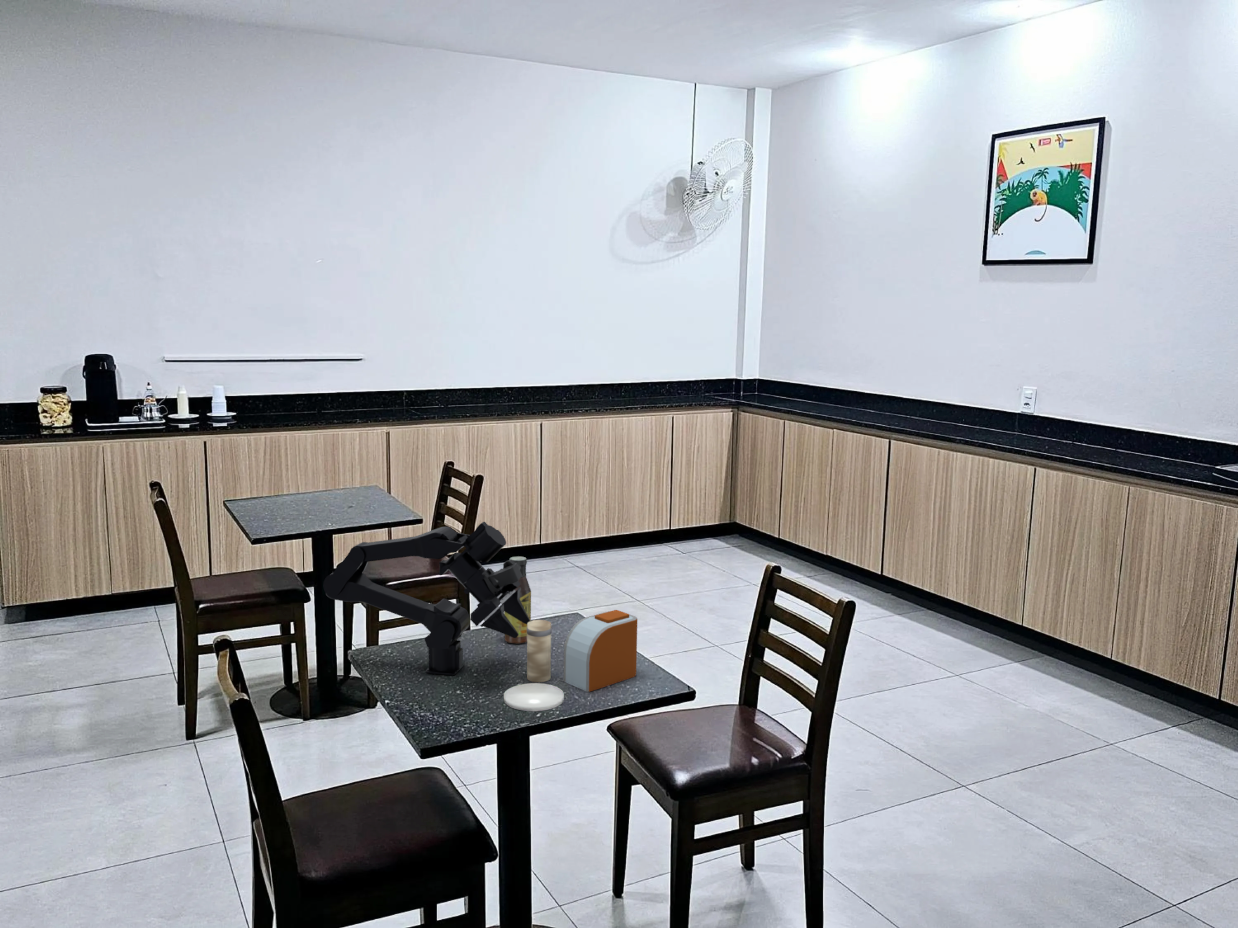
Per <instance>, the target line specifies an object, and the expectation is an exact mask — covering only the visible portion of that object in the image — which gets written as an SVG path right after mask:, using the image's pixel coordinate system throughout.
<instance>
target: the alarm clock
mask: <svg viewBox="0 0 1238 928" xmlns="http://www.w3.org/2000/svg"><path fill="white" fill-rule="evenodd" d="M563 646H564V648H563V666H562V667H563V674H562V676H563V677H562V678H563V680H562V681H563V683H566V684H568V685H570V686H573V687H575V688H577V689H580V690H582V691H584V692H587V693H590V692H591V693H592V692H594V691H596V690H599V689H602V688H604V687H605V688H606V687H609V686H612V685H614V684H617V683H620V682H624V681H625V680H628V679H633V678H635V677H636V675H637V661H638V660H637V657H638V655H637V654H638V653H637V652H638V617H637V616H636V615H632V614H629V613H627V612H624V611H621V610H618V609H614V610H608V611H605V612H601V613H598V614H593V615H591V616H590V615H589V616H586V617H584V618H582V619H580V620H578V622H576V623H575V624H574V625H573V626H572V627H571V629H570V630H569V633H568V634H567V636H566V639H565V641H564V645H563Z"/></svg>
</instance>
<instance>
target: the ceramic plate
mask: <svg viewBox="0 0 1238 928" xmlns="http://www.w3.org/2000/svg"><path fill="white" fill-rule="evenodd" d="M564 698H565V694H564V691H563V690H562V689H561V688H559V687H557V686H556V685H551V684H548V683H541V682H532V683H531V682H530V683H522V684H518V685H514V686H512V687H510V688H508V689H506V690H505V692H504V693H503V702H504V704H505V705H506V706H508V707H510V708H511V709H514V710H517V711H525V712H541V711H547V710H552V709H554V708H557V707H559V706H560V705H562V704H563V703H564Z"/></svg>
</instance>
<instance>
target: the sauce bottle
mask: <svg viewBox="0 0 1238 928" xmlns="http://www.w3.org/2000/svg"><path fill="white" fill-rule="evenodd" d="M511 559H512V560H513V561H514V562H515V563H517V564H518V565H520V566H521V569H520V572H521V574H522V576H523V577H522V578H521V577H520V578H519V581H518V582H519V583H520V585H519V586H518V587H517V588H516V589H515V591H516V590H518V589H519V588H521V590H520V601H521V603H522V605H523V607H524V609H525V611H526V613H527V615H528V617H529V619H530V621H532V589H531V586H530V584H529V580H528V578H527V564H528V561H527V558H526V557H524V556H512V557H510V558H509V560H511ZM504 614H505V616H506V617H507V618H508V620H509V621H510V623H511V624H512V625H513V627H514V628H515V629H516V631H517V632H518V634H519V635H518V636H517V637H516V638H513V637H510V636H508V635H505V634H504V640H505V641H506V642H507V643H509V644H517V645H518V644H524V643H527V624H525V623H523V622H521V621H519V620H518V619H516V618H514V617H513V616H511V615H510V614H508V613H506V612H505V611H504Z"/></svg>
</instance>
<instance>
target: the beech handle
mask: <svg viewBox="0 0 1238 928" xmlns="http://www.w3.org/2000/svg"><path fill="white" fill-rule="evenodd" d="M552 629H553V628H552V623H551V621H549V620H545V619H533V620H531V621H530V622H528V623H527V642H526V644H527V645H526V662H527V663H526V679H527V681H530V682H532V683H544V682H548V681H549V680H551V677H552V676H551V674H552V673H551V672H552V671H551V669H552V668H551V667H552V666H551V665H552V658H551V657H552V655H551V654H552Z"/></svg>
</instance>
